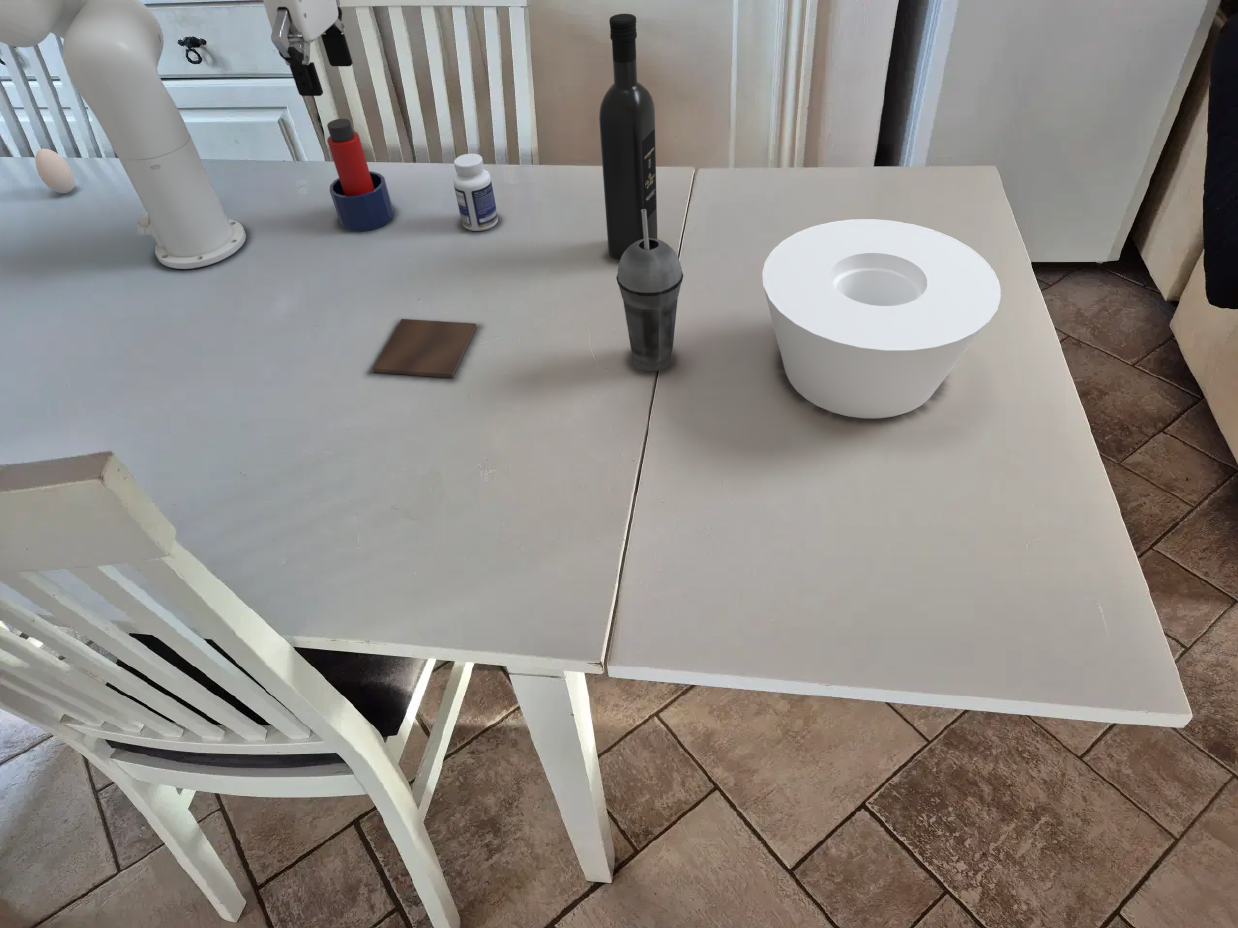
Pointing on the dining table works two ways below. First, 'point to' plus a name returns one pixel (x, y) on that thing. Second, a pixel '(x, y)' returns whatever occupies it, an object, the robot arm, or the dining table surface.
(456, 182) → the pill bottle
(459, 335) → the coaster
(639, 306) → the beverage cup
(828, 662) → the dining table surface
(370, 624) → the dining table surface
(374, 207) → the blue cup
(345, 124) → the sauce bottle
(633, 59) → the wine bottle
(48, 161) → the egg
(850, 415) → the recessed white cone
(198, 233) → the robot arm
